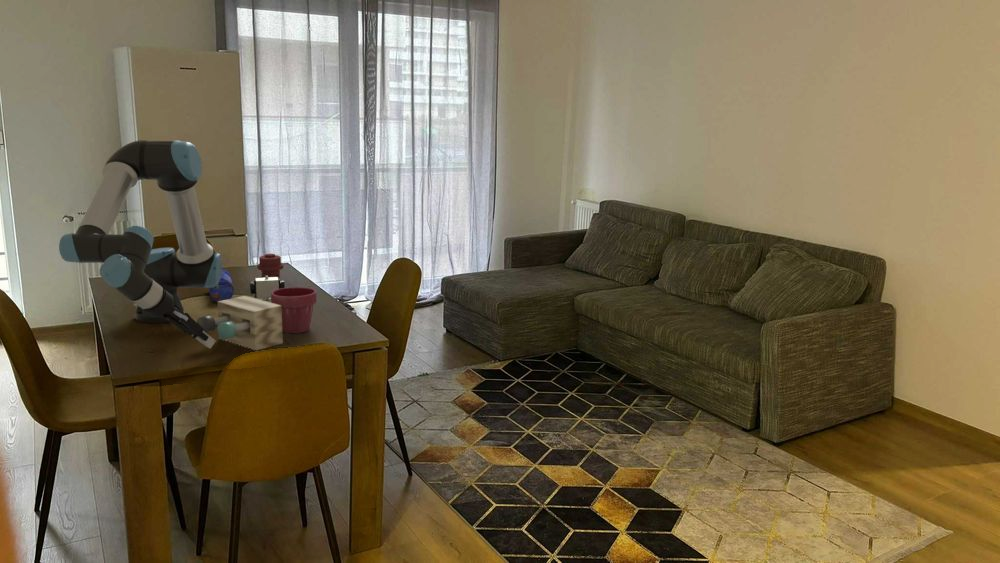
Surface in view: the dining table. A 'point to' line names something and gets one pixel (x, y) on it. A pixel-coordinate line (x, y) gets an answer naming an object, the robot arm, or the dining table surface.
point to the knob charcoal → (211, 322)
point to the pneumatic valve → (265, 287)
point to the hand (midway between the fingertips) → (211, 344)
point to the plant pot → (295, 307)
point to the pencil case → (222, 287)
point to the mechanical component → (270, 265)
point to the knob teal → (231, 329)
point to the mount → (253, 321)
